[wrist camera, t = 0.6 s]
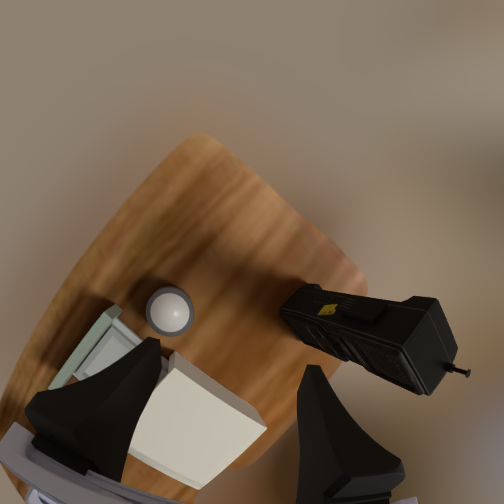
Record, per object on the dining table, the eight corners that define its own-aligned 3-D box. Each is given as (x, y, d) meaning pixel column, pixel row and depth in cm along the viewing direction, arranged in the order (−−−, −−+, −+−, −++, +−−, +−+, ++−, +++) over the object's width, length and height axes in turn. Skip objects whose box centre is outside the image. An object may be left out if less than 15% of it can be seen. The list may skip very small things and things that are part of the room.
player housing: (194, 464, 33) (198, 489, 27) (116, 416, 31) (108, 439, 25) (254, 407, 36) (267, 428, 30) (175, 350, 34) (174, 367, 28)
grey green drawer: (139, 431, 32) (135, 455, 26) (64, 371, 29) (48, 388, 24) (196, 371, 34) (199, 389, 28) (115, 303, 32) (104, 311, 26)
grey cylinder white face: (173, 337, 34) (173, 346, 30) (140, 308, 33) (135, 314, 29) (201, 305, 35) (204, 310, 31) (168, 276, 34) (167, 277, 30)
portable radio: (270, 305, 37) (409, 362, 13) (302, 275, 39) (458, 287, 14) (304, 345, 38) (441, 420, 14) (333, 316, 40) (481, 357, 15)
